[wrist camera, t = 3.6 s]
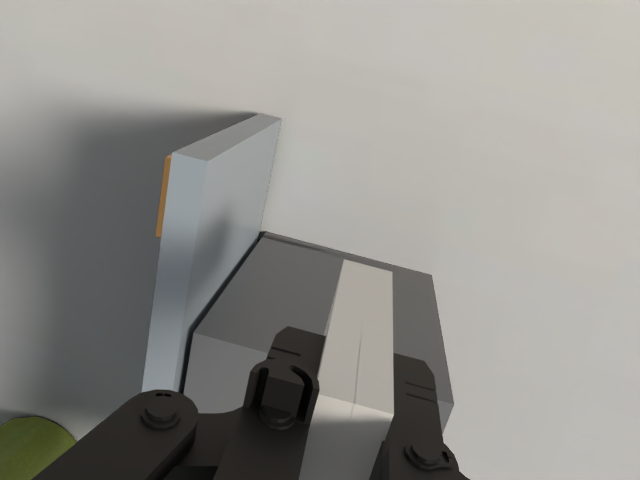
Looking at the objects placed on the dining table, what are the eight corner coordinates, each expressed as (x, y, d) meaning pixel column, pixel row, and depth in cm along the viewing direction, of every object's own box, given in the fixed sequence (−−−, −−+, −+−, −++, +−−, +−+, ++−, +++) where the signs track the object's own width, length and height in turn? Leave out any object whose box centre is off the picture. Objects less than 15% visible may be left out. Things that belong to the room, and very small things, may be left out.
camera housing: (431, 275, 30) (459, 433, 18) (369, 458, 35) (356, 686, 23) (266, 231, 31) (176, 355, 18) (227, 418, 36) (136, 619, 23)
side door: (283, 119, 28) (210, 162, 17) (220, 434, 36) (141, 608, 24) (249, 110, 28) (154, 147, 17) (193, 426, 36) (102, 596, 25)
